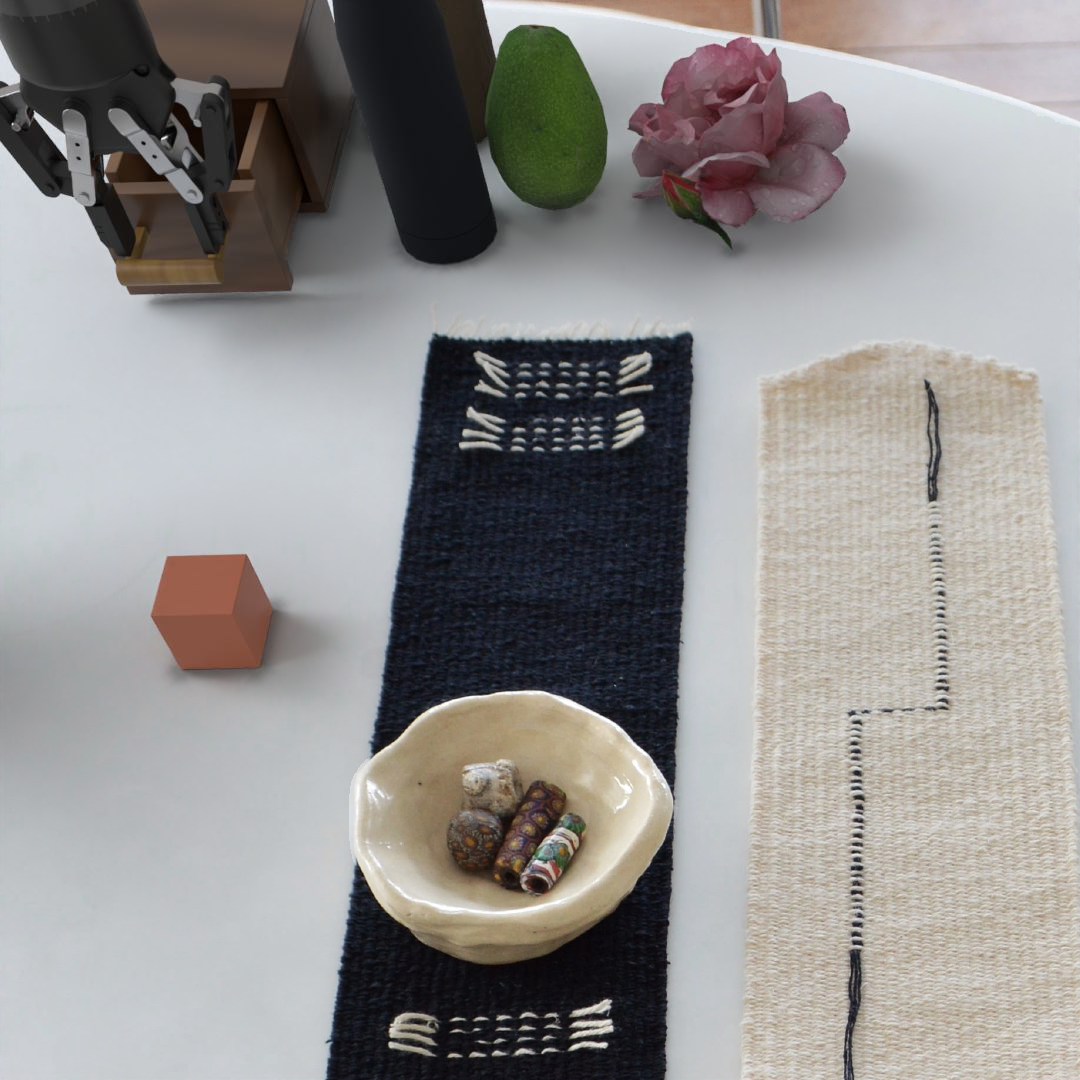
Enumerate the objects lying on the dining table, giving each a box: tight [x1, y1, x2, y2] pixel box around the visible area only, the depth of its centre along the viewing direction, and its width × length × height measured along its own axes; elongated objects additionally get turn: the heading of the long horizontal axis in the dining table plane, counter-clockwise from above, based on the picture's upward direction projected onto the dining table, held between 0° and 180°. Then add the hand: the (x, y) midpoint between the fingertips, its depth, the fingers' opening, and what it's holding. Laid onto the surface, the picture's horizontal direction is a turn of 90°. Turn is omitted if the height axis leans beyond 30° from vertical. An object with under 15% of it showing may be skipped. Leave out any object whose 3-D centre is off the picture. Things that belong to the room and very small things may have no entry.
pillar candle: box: [437, 0, 497, 144], centre depth 118 cm, size 10×10×15 cm
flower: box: [627, 36, 851, 252], centre depth 115 cm, size 15×15×10 cm
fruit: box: [485, 24, 609, 211], centre depth 114 cm, size 8×8×12 cm
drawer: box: [104, 98, 305, 296], centre depth 112 cm, size 17×10×7 cm, turn 2°
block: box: [150, 553, 274, 670], centre depth 97 cm, size 4×4×4 cm
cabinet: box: [139, 0, 356, 214], centre depth 118 cm, size 14×12×9 cm
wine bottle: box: [331, 0, 498, 265], centre depth 104 cm, size 6×6×30 cm
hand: (170, 246), depth 107 cm, fingers open, 4 cm apart
